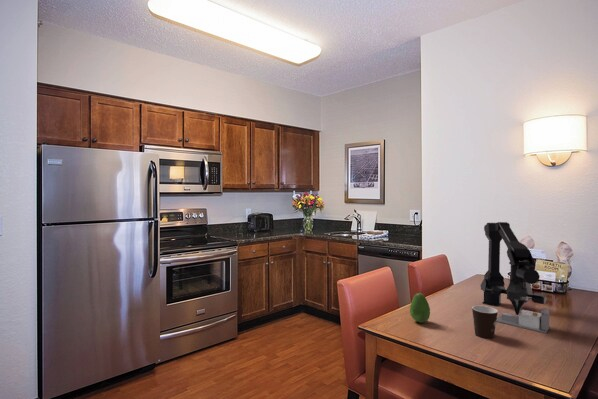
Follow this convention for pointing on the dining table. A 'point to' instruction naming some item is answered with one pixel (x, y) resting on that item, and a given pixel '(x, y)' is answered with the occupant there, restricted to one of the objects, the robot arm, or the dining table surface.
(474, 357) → the dining table surface
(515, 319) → the hitch plate
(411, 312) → the fruit
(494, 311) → the coffee mug
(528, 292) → the mineral rock
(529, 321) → the lock block
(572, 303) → the dining table surface
